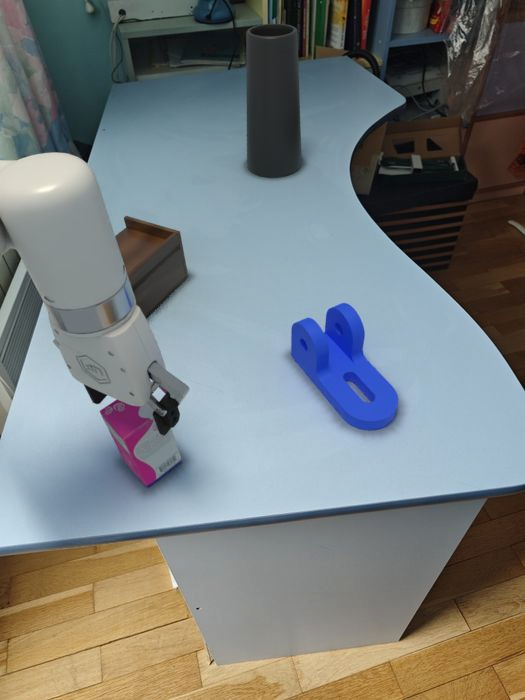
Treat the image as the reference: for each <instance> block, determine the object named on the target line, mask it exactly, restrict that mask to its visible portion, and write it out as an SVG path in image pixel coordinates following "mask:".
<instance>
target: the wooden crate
mask: <svg viewBox="0 0 525 700" xmlns="http://www.w3.org/2000/svg"><path fill="white" fill-rule="evenodd" d="M123 221H124V225H125V228H123V229H122V230H121V231H119V232H118V233H117V234H116V235H115V237H116V240H117V243H118V247H119V250H120V253H121V256H122V259H123V262H124V265H125V268H126V271H127V275H128V278H129V281H130V284H131V287H132V290H133V293H134V296H135V300H136V305H137V306H139V307H140V309H141V311H142V313H143V314H144V316H145V318H146V320H147V319H148V318H149V317H150V316H151V315H152V314H153V313H154V312H155V311H156V310H157V309H158V308H159V307H160V306H161V305H163V303H165V301H166V300H167V299H168V298H169V297H170V296H171V295H172V294H173V293H174V292H175V291H176V290H177V289H178V288H179V287H180V286H181V285H182V284H183V283H184V282H185V281H186V280H187V279H188V278H189V272H188V266H187V262H186V261H187V260H186V257H185V250H184V245H183V239H182V234H181V230H176V229H175V228H170V227H167V226H164V225H160V224H156V223H152V222H148V221H146V220H143V219H139V218H136V217H132V216H129V215H125V216H124V217H123Z"/></svg>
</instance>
